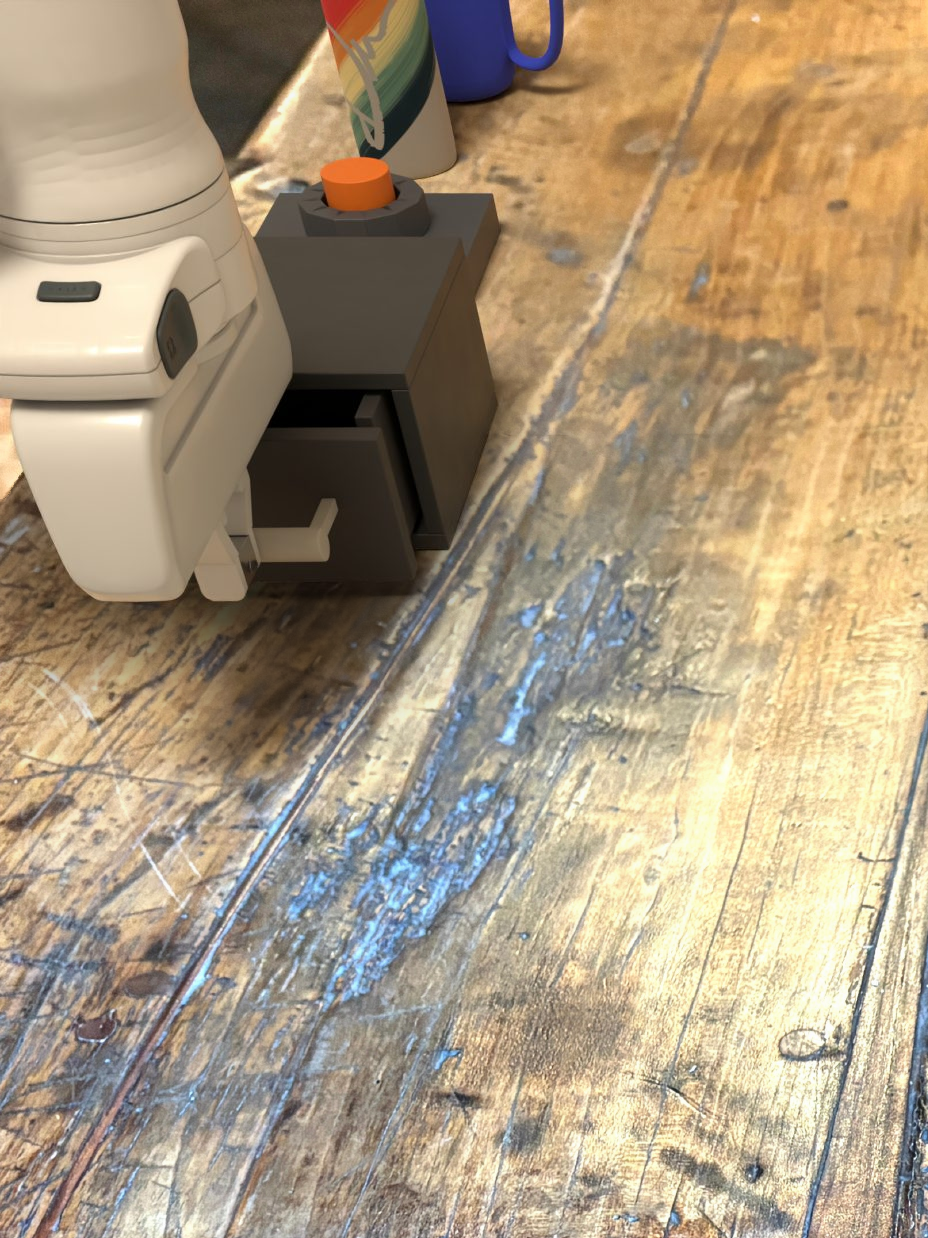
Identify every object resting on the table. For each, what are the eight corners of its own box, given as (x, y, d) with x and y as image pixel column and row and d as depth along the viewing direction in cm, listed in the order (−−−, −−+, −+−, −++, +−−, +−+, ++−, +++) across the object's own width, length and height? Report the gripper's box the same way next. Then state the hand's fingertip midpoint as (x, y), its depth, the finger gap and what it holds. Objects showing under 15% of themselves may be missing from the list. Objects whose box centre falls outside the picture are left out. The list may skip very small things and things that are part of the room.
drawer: (395, 631, 98) (356, 487, 93) (129, 634, 97) (75, 489, 92) (464, 439, 110) (432, 303, 105) (228, 441, 109) (185, 303, 104)
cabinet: (448, 549, 104) (404, 372, 98) (173, 552, 104) (111, 373, 97) (498, 405, 114) (461, 236, 108) (248, 406, 114) (196, 236, 107)
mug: (556, 123, 141) (524, -52, 133) (377, 105, 142) (335, -69, 135) (605, 77, 146) (577, -93, 139) (431, 60, 147) (395, -110, 140)
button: (322, 215, 121) (313, 182, 120) (336, 189, 124) (327, 156, 123) (389, 215, 122) (381, 182, 120) (401, 189, 124) (394, 157, 123)
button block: (248, 306, 122) (226, 232, 119) (290, 231, 128) (270, 159, 126) (472, 306, 122) (455, 232, 119) (501, 231, 129) (486, 160, 126)
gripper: (118, 148, 91) (220, 465, 101) (-51, 376, 77) (87, 718, 87) (275, 149, 91) (361, 464, 101) (136, 376, 77) (252, 716, 87)
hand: (234, 583), depth 94 cm, fingers closed
